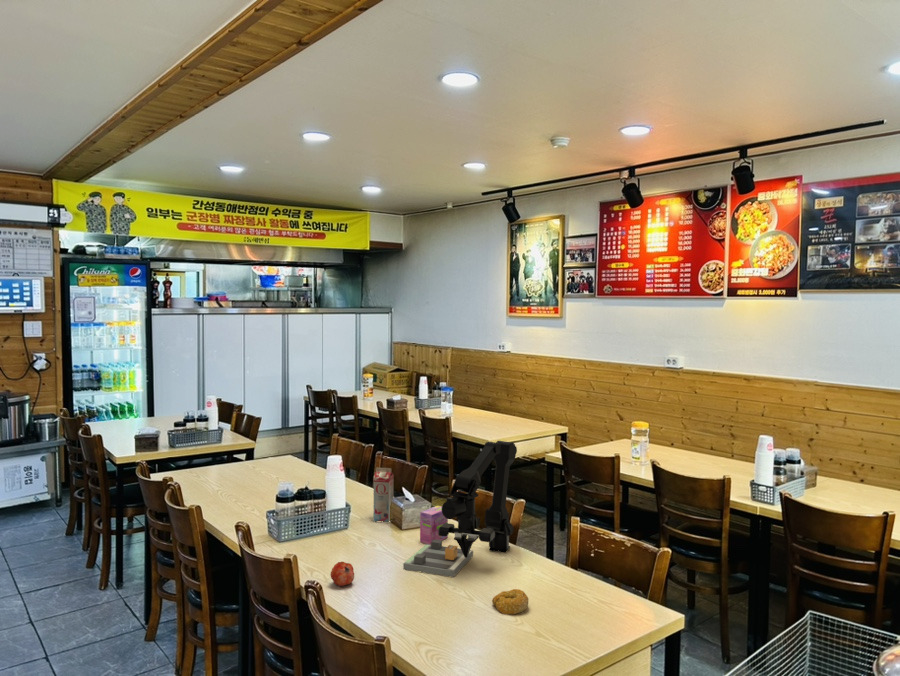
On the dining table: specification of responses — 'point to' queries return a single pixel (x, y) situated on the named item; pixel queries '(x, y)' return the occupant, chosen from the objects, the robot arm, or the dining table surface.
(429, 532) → the box
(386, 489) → the juice carton
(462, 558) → the panel
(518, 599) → the bagel
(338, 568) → the pomegranate
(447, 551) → the handle
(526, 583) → the dining table surface
